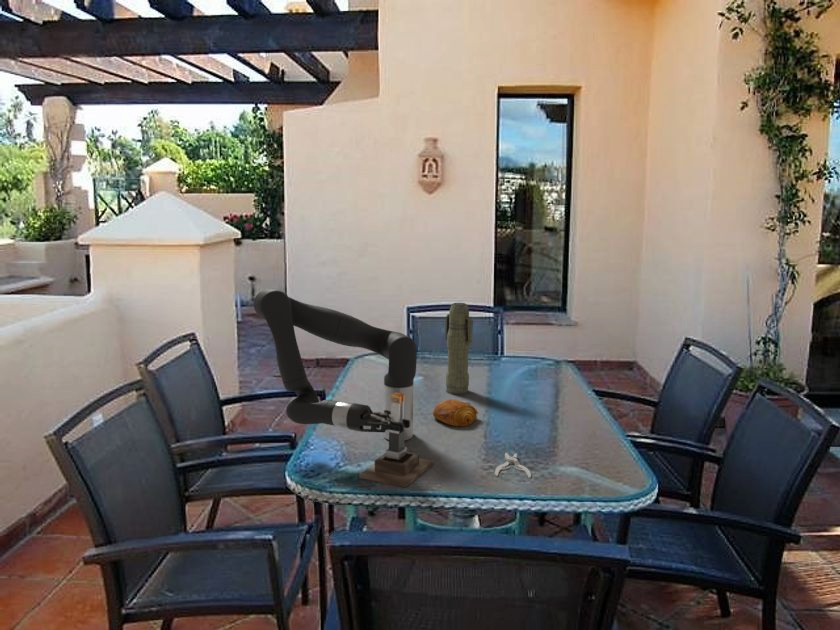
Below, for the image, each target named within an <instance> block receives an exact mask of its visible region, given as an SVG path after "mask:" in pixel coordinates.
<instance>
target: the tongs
mask: <svg viewBox="0 0 840 630" xmlns="http://www.w3.org/2000/svg"><path fill="white" fill-rule="evenodd" d="M404 401H405V394H402V393H394V395H391V401H390V402H391V422H396V423H402V424H403V422H404ZM404 435H405V430H404V431H403V432H398V431H393V430H390V432H389V440H388V448H387V449H386V450H385V453H386V457H387V458H392V459H397V460H399V459H401V458H402V457H403V456H405V455H406V454H407V452H408V447H407V446H405V441H404Z"/></svg>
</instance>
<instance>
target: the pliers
mask: <svg viewBox="0 0 840 630" xmlns="http://www.w3.org/2000/svg"><path fill="white" fill-rule="evenodd" d="M517 457H518V454H517V453H513V456H511V455H509V453H508V452H505V453H504V459H505V462H504V463H501V464H499V465H498V466H496V468H495V469H494V474H495V477H499V474H500V472H501V471H505V470H508V469H510V468H511V466H509V465H512V464H514V466H513V468H514V469H516V470H518V471H522V472H525V474H526V475H527V477H528V478H529V479H531V477H532V473H531V471H530V469H528V467H526V466H524V465H523V464H520V462H519V460H518V459H517Z"/></svg>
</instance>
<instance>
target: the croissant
mask: <svg viewBox="0 0 840 630" xmlns="http://www.w3.org/2000/svg"><path fill="white" fill-rule="evenodd" d="M478 414H479V412H478V410H477V409H476V408H475V407H474V406H473V405H471V404H470V403H467V402H464V401H462V400H461V401H460V400H456V399H447V400H446V399H445V400H443V401H441V402H440V403H437V405H435V406H434V408H433V412H432V416H433V417H434V418H435V419H436V420H438V421H440V422H442V423H444V424H447V425H450V426H453V427H467V426H469V425H472V424H473V423H474V422H476V420H477V418H478V416H477V415H478Z"/></svg>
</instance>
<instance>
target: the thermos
mask: <svg viewBox="0 0 840 630" xmlns="http://www.w3.org/2000/svg"><path fill="white" fill-rule="evenodd" d="M473 324H474V320H473V318H472V317H471V316H470V310H469V306H468V304H466V303H464V302H453V303H452V304H451V306H450V307H449V314H446V317H445V340H446V347H447V372H446V375H445V386H446V387H445V388H446V390H445V392H446V393H447V394H451V395H465V394H467V393H469V386H470V381H469V380H470V374H469V350H470V345H471V343H472V342H473V327H474V326H473Z"/></svg>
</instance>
